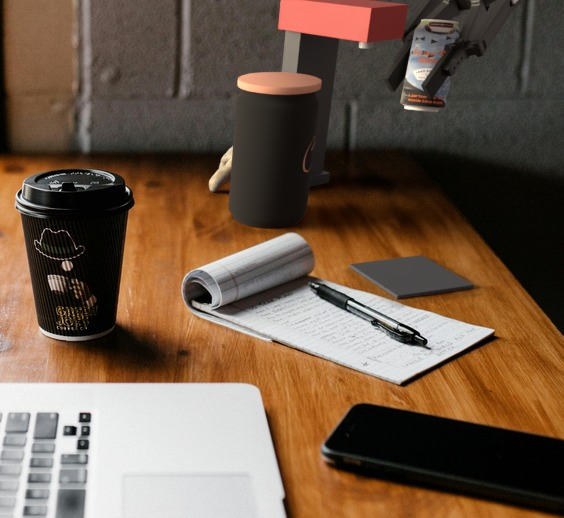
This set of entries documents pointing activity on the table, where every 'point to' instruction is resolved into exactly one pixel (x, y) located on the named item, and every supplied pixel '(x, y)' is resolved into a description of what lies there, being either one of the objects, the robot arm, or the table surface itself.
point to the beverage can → (428, 63)
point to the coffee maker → (332, 47)
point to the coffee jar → (273, 148)
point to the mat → (410, 276)
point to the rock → (222, 172)
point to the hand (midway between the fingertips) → (407, 88)
